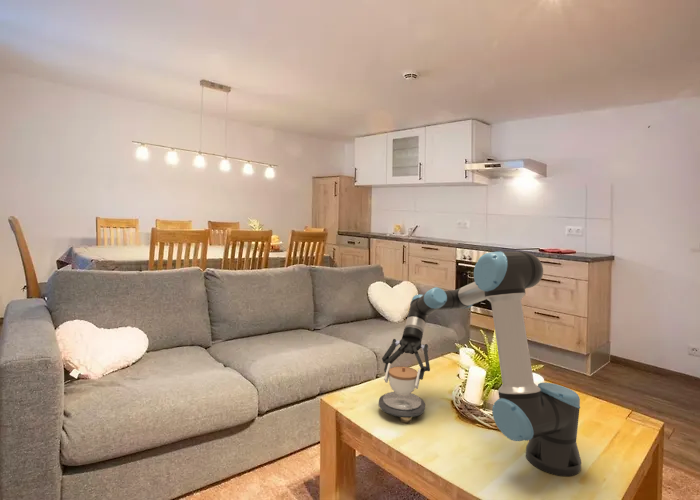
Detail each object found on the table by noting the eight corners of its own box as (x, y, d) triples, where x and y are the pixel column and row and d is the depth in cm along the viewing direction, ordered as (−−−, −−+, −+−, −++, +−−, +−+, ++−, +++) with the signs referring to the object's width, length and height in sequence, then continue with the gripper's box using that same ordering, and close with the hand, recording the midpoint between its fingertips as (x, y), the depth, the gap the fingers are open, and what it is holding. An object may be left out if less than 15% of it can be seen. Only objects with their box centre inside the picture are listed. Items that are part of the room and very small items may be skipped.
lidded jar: (421, 390, 156) (423, 366, 155) (409, 401, 147) (411, 375, 146) (395, 383, 162) (396, 359, 161) (382, 393, 153) (383, 368, 152)
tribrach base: (429, 407, 160) (429, 395, 159) (418, 428, 144) (419, 414, 143) (386, 398, 166) (387, 386, 166) (372, 417, 150) (372, 404, 150)
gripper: (444, 340, 162) (433, 394, 150) (387, 331, 171) (372, 382, 158) (442, 330, 157) (431, 386, 144) (383, 321, 166) (368, 373, 153)
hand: (400, 384), depth 151 cm, fingers closed on lidded jar, 11 cm apart
